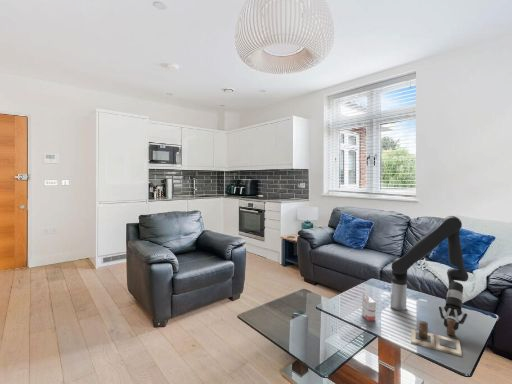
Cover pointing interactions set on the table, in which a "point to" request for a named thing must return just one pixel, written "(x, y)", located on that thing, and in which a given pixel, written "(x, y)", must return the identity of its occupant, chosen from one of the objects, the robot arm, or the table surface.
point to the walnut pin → (451, 326)
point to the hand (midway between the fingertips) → (450, 328)
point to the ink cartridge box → (368, 308)
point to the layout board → (437, 342)
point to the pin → (423, 329)
